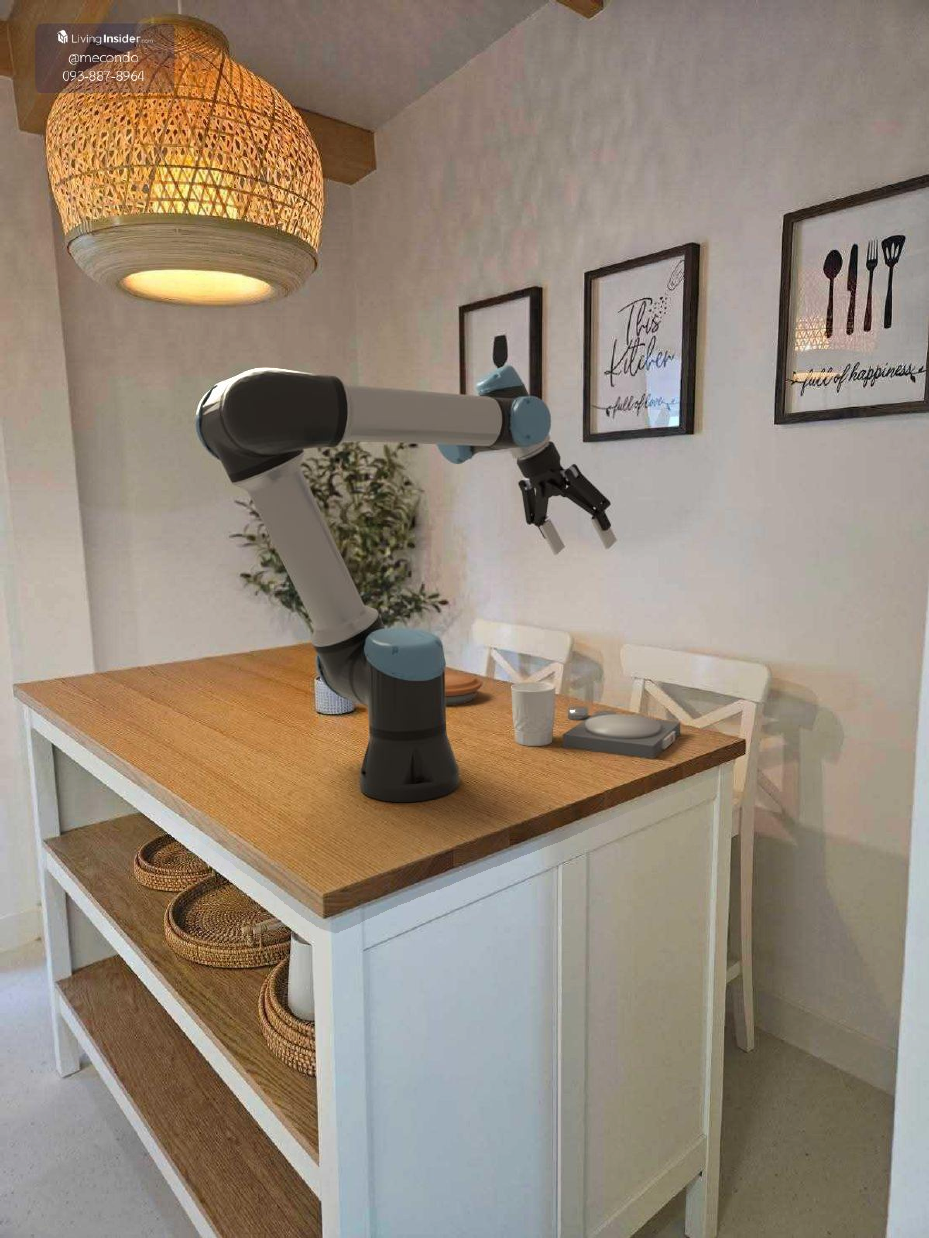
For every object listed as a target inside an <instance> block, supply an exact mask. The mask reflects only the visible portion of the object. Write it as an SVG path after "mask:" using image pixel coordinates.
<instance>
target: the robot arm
mask: <svg viewBox="0 0 929 1238" xmlns="http://www.w3.org/2000/svg"><path fill="white" fill-rule="evenodd" d="M475 387H476V390H477V394H478V395H472V394H463V393H461V394H460V393H449V392H448V393H447V392H439V391H438V392H437V391H436V392H435V391H425V390H413V389H412V390H411V389H405V388H404V389H403V388H402V389H401V388H391V387H377V386H369V385H368V386H366V385H357V384H356V385H355V384H345V382H344V380H343V379H342V378H340V376H338V375H332V374H319V373H313V372H307V371H299V370H293V369H292V370H290V369H284V368H283V369H282V368H275V367H258V368H254V369H249V370H247V371H244V372H242V373H240V374H238V375H236V376H233V377H231V378H227V379H224V380H222V381H220V382H219V383H216V384H214V385H213V386H212V387H211V388H210V389H209V390H208V391H207V392H206V393H205V394H204V395H203V396H202V398H200V401H199V403H198V406H197V410H196V413H195V429H196V433H197V436H198V438H199V441H200V443H201V445H202V446H203V447H204V448H205V450H206V451H207V452H208V453H209V454H211V456H212V457H214V458H215V459H217V460H219V461H220V462H221V464H222V467H223V468H224V471H225V472H226V474H227V476H228V478H229V481H230V482H231V485H233V486H235V487H238V488H241V489H243V490H245V491H246V492H247V493H248V495H249V497H250V499H251V501H252V504H253V506H254V508H255V510H256V511H257V513H258V516H259V517H260V520H261V521H262V524H263V526H264V528H265V530H266V531H267V534H268V536H269V538H270V540H271V542H272V544H273V547H275V550H276V552H277V553H278V556H279V558H280V560H281V562H282V563H283V564H282V565H283V566H284V567H285V570H286V572H287V574H288V576H289V578H290V580H291V583H292V584H293V586H294V589H295V591H296V593H297V594H298V596H299V598H300V600H301V603H302V604H303V607H304V608H305V611H306V612H307V615H308V617H309V618H310V621H311V622H312V624H313V626H314V631H313V633H312V635H311V638H310V641H311V645H312V646H313V649H314V650H315V652H316V655H315V668H316V669H315V670H316V672H317V675H318V677H319V678H320V680H321V681H322V683H323V685H324V686H326V687H327V688H328V689H329V690H330V691H331V692H332V693H334V694H335V695H337V696H338V697H340V698H343V699H345V700H349V701H353V702H355V703H357V704H360V705H363V706H366V707H367V710H368V713H367V714H368V715H367V716H368V731H369V733H368V734H369V738H368V741H367V742H368V743H367V747H366V750H365V753H364V756H363V760H362V765H361V768H360V771H359V790H360V791H361V792H362V793H363V795H366V796H367V797H369V798H372V799H376V800H379V801H385V802H395V803H396V802H397V803H412V802H421V801H428V800H429V801H430V800H433V799H438V798H441V797H444V796H446V795H449V794H451V793H452V792H455V790H457V789H458V787H459V786H460V768H459V765H458V763H457V760H456V757H455V755H454V751H453V747H452V745H451V743H450V740H449V737H448V733H447V711H446V710H447V709H446V708H447V707H446V706H447V705H446V699H445V674H446V671H445V668H446V659H445V652H444V650H445V649H444V645H443V641H442V640H441V638H439V636H438V635H435V634H434V633H433V632H430V631H427V630H423V629H418V628H414V629H413V628H410V627H387V628H386V627H385V624H384V622H383V620H382V618H381V615H380V614H379V611H378V610H377V609H376V608H374V607H371V606H368V605H365V604H364V602H363V600H362V598H361V594H359V591H358V589H357V587H356V585H355V583H354V581H353V578H352V576H351V574H350V572H349V569H348V567H347V565H346V563H345V561H344V558H343V557H342V555H341V552H340V550H339V548H338V546H337V544H336V541H335V539H334V537H333V536H332V533H331V531H330V529H329V528H330V527H329V526H328V524H327V522H326V520H325V518H324V516H323V514H322V511H321V510H320V507H319V504H318V503H317V500H316V498H315V496H314V495H313V492H312V490H311V488H310V485H309V483H308V481H307V479H306V477H305V475H304V472H303V470H302V468H301V466H302V465H301V464H302V461H303V460H304V456H305V450H306V449H315V448H332V449H333V448H337V447H339V446H341V445H342V444H343V442H365V443H366V442H368V443H371V442H372V443H396V444H422V445H436V448H437V449H438V450H439V451H438V452H439V453H440V454H441V455H442V456H443V458H445V460H447V461H449V462H450V463H451V464H454V465H460V464H463V463H465V462H466V461H468V460H471V459H472V458H473V457H474V456H475V455H476V454H478V453H483V452H491V451H498V450H505V449H508V450H509V453H510V454H511V456H512V458H514V459H516V465H517V466H518V468H519V470H520V472H521V474H522V475H523V478H522V479H520V480H519V481H518V482H517V485H518V487H519V489H520V491H521V496H522V502H523V508H524V515H525V522H526V524H527V525H530V526H531V525H534V526H536V527H537V528H538V529H539V532H540V534H541V536H542V537H543V538H544V539H545V540H546V542H547V544H548V546H549V548H550V549H551V551H552V553H553V555H554V556H557V555H558V554H559V553H561V552H562V551H563V549H565V547H566V546H565V544H564V541H563V540H562V539H561V536H560V535H559V533H558V531H557V529H556V527H555V525H554V524H553V522H552V521H553V520H551V518H549V516H548V515H547V514H548V506H549V498H552V497H558V496H560V497H562V498H567V499H568V500H570V501H571V502H572V503H574V504H575V505H577V506H578V507H579V508H581V509H582V510H584V511H585V512H587V513H588V515H591V517H590V521H591V523H592V525H593V527H594V529H595V531H596V532H597V534H598V537H599V539H600V540H601V543H602V544H603V546H604V548H605V549H606V550H607V549H610V548H611V547H612V546H613V545H614V544H615V543H616V542H618V541H617V538H616V536H615V533H614V532H613V529H612V528H611V527H612V525H611V524H612V523H611V521H610V520H609V518H608V516H607V514H606V510H607V509H608V508H609V507H610V506H611V504H612V503H611V501H610V500H609V499H608V498H607V497H606V496H605V495H604V494H603V493H602V492H601V491H600V490H599V489H598V488H597V487H596V486H595V485H594V484H593V483H592V482H591V481H589V479H588V478H587V477H586V476H585V475H584V474H582V472H581V470H580V469H579V467H578V465H577V464H575V463H573V464H571V465H570V466H569V467H567V468H565V467H563V466H562V465H561V458H562V457H561V455H560V453H559V451H558V449H557V447H556V444H555V443H554V442H553V441H550V440H551V435H550V434H549V433H550V431H551V428H552V427H551V426H552V416H551V411H550V409H549V407H548V405H547V404H546V403H545V401H543V399H541V398H539V397H537V396H534V395H530V394H529V391H528V390H527V387H526V385H525V383H524V382H523V380H522V379H521V377H520V375H519V374H518V372H517V370H516V369H515V368H514V367H513V366H512V365H509V364H508V365H503V366H501V367H499V368H497V369H494V370H493V371H491V372H489V373H488V374H486V375H484V376H483V377H481V379H479V380H478V381H477V382H476V383H475Z"/></svg>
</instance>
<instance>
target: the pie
mask: <svg viewBox="0 0 929 1238" xmlns="http://www.w3.org/2000/svg"><path fill="white" fill-rule="evenodd" d="M482 686H483V681H482V680H480V679H478V678H476V677H475V676H473V675H471V674H466V673H457V672H456V673H449V672H447V673H446V672H445V699H446V706H454V705H453V704H456V705H461V703H462V704H465V703H464V702H467V703H469V702H471V701H472V700H474V698H475V696H476V695H477V693H478V690H479V689H480V688H481V687H482Z"/></svg>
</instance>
